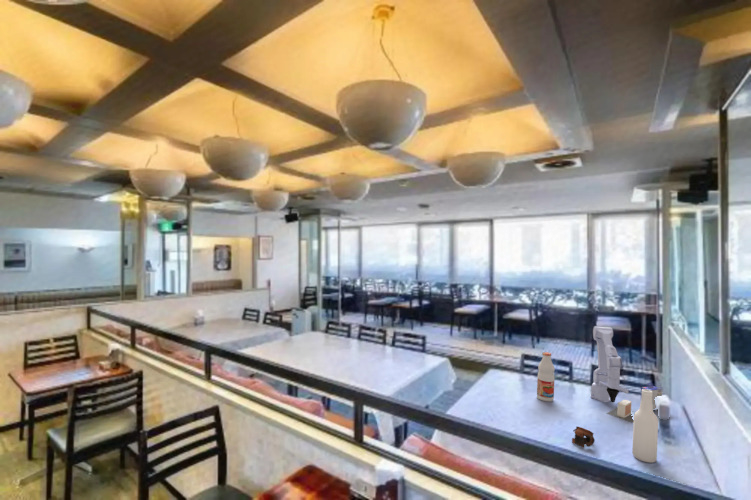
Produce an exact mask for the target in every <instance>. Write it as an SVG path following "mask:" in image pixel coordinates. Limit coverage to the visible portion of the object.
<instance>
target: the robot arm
mask: <svg viewBox="0 0 751 500" xmlns="http://www.w3.org/2000/svg"><path fill="white" fill-rule="evenodd" d="M592 336H593V340H594V341H596V347H597V351H596V352H597V364H598V366H597V367H598V368H596V369H595V370H593V376H592V377H593V378H592V379H593V383H592V384H591V389H590V398H591V399H595V400H598V401H600V402H603V403H609V402H610V403H615V401H616V398H617V396H618V395H619V393H620V392H621V393H624V394H629V389H628V388H625V387H623V386H621V385H620V378H621V375H620V374H621V368H622V367H623V360H622V357H621V356H620V355H619V354H618V351H617V349H616V347H615V346H614V345H613V341H612V340H613V337H614V329H613V328H612V327H610V326H609V327H607V326H596V325H594V326H593V329H592Z"/></svg>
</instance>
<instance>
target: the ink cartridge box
mask: <svg viewBox="0 0 751 500" xmlns="http://www.w3.org/2000/svg"><path fill="white" fill-rule="evenodd" d="M646 385H647V386H642V387H641V386H640V397H641V396H642V393H641V392H642V391H641V390H642V389H648V390H651V391H652V392H653V393H652V395H653V396H652V404H653V409H655V408H656V405H655V400H654V399H655V397H657V396H662V397H663V389H662V388H660V387H657V386H654V385H653V383H652V382H647V383H646Z"/></svg>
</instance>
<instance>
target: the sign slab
mask: <svg viewBox="0 0 751 500" xmlns="http://www.w3.org/2000/svg"><path fill="white" fill-rule="evenodd" d="M617 407H618V410H617V416H620V417H623V418H625V417H627V416H629V415H630V414H631V411H632V401H631V400H627V399H622V400H621V401H619V402H617Z"/></svg>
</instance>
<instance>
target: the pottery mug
mask: <svg viewBox="0 0 751 500" xmlns="http://www.w3.org/2000/svg"><path fill="white" fill-rule="evenodd" d="M572 432H574V437H572V439H571V443H572V444H575V445H577V446H579V447H580V448H585V446H586V447H591V446H592V445H594V444H595V437H594V434H595V433H594V432H593V431H590V430H588V429H587V428H584V427H581V426H575V428H574V429H573V430H572Z"/></svg>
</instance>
